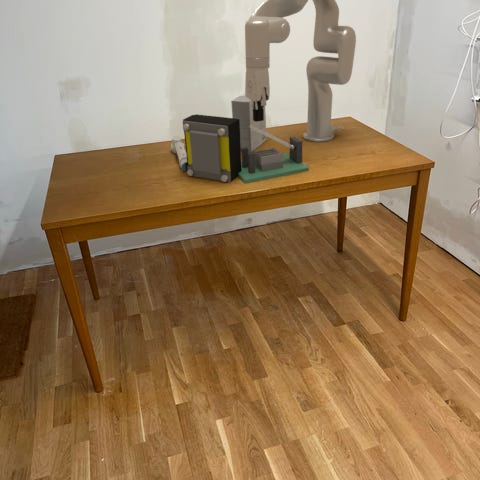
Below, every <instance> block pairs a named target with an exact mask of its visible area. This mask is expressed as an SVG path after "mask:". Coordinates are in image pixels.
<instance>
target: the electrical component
mask: <svg viewBox="0 0 480 480" xmlns="http://www.w3.org/2000/svg"><path fill="white" fill-rule="evenodd" d="M182 131H183V134H184V142H185V143H184V146H185V151H186V154H187V164H188V166H187V168H188V171H186V172H187V173H186V174H187V175H188V176H191V177H198V178H203V179H208V180H209V179H210V180H212V181H213V180H214V181H220V182H224V183H232V182H233V181H235V180H236V179H238V178H239V177H238V173H239V172H241V171H242V169H241V162H242V154H241V145H240V121H239V119H235V118H232V117H224V116H216V115H215V116H214V115H205V114H191V115H189V116H187V117H185V118H183V119H182Z"/></svg>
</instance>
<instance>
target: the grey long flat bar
mask: <svg viewBox="0 0 480 480" xmlns="http://www.w3.org/2000/svg"><path fill="white" fill-rule="evenodd" d="M249 127H250V128H251V129H253V130H255V131H257V132H259V133H261V134H263V135H265V136H266V138H269V139H271V140H273V141H275V142H277V143H279V144H282V145H283V146H286V147H287V148H289V149H290V148H291V149H292V150H295V146H294V145H292V144H290V141H289V142H287V141H286V140H284V139H281V138H279V137H277V136H275V135H273V134H271V133H269V132H268V131H266V132H265V131H263V130H261V129H259V128H257V127H255V126H253V125H251V124H250V126H249Z"/></svg>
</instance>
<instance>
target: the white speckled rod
mask: <svg viewBox="0 0 480 480" xmlns="http://www.w3.org/2000/svg"><path fill="white" fill-rule="evenodd" d="M171 141H172V142H171V144H170V148H171V151H172V154H175V155H177V158H178V162H179V167H180V168H181V171H183V172H187V171H188V168H187V166H188V164H187V154H186V145H185V143H184V142H183V139H182V137H181V136H178V135H176V136H174V137H173V136H172V140H171Z"/></svg>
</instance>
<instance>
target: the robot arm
mask: <svg viewBox="0 0 480 480" xmlns="http://www.w3.org/2000/svg"><path fill="white" fill-rule="evenodd" d="M308 1H309V0H265V1H263V2H262V3H260V4H259V5H258V6H257V7H256V8H255V10H254V12H252V14H251V15H250V17H249V18H248V20H246V22H245V24H244V37H245V38H244V40H245V42H244V44H245V45H244V46H245V48H244V49H245V84H244V85H245V86H244V90H245V91H244V93H245V95H246V97H247V98H249V99H251V100H252V107H253V108H254V109H253V120H254V121H255V122H258V121H263V120H264V106H265V107H266V106H267V101H269V100H270V94H271V93H270V75H269V74H270V73H269V68H270V62H271V61H270V58H271V57H270V55H271V54H270V44H282V43H284V42H285V41H287V39H288V38H289V36H290V34H291V25H290V23H289V21H288V20H287V19H286V18H285V17H289V16H292V15H295V14H297V13H299V12H301V11H302V10H303V9H304V8H305V6H306V4H307V3H308ZM312 2H313V5H314V9H315V22H314V33H313V49H314V50H315V51H317V52H318V53H322V54H323V53H324V54H337V55H338V56H337V57H334V56H333V57H332V56H323V55H321V56H318V55H317V56H314V57H311V58H310V59H309V60H308V61H307V63H306V78H307V88H308V91H307V92H308V95H307V121H306V122H307V127H306V128H307V129H306V131H305V132H303V135H302V136H303V138H304V139H305V140H306V141H311V142H319V143H320V142H328V141H331V140H333V139H335V138H334V137H335V134H334V132H335V131H341V130H342V126H341V125H335V124H332V108H333V91H332V88H331V85H337V86H338V85H339V86H340V85H341V86H342V85H346V84H347V83H349V82H350V80H351V77H352V74H353V73H352V72H353V66H354V59H355V53H356V45H357V36H356V32H355V29H354V28H352V27H351V26H348V25H339V20H340V19H339V18H340V8H339V6H338V3H337V1H336V0H312Z"/></svg>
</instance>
